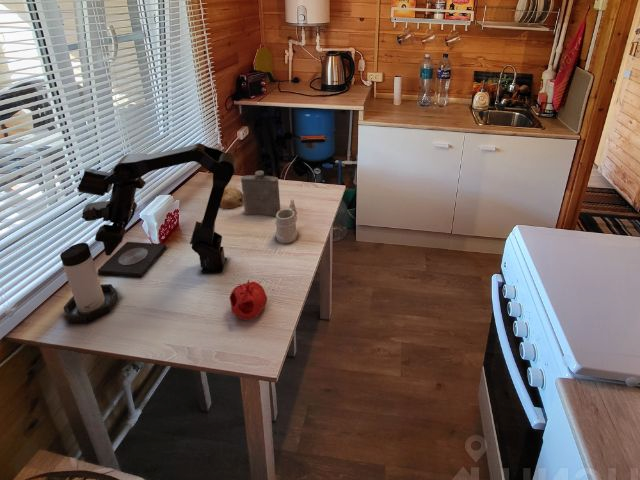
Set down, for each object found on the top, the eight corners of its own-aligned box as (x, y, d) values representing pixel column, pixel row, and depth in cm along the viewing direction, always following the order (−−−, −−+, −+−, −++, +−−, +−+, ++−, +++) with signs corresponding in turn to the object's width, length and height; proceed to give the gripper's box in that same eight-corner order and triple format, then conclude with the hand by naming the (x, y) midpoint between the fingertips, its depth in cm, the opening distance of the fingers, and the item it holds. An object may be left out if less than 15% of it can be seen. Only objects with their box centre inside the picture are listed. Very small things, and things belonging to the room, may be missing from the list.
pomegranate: (249, 291, 112) (246, 265, 109) (275, 304, 108) (272, 278, 104) (222, 314, 104) (218, 287, 101) (249, 330, 100) (245, 303, 96)
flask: (247, 209, 153) (242, 169, 146) (282, 211, 152) (279, 170, 145) (243, 214, 149) (239, 173, 143) (279, 216, 148) (276, 175, 142)
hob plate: (166, 247, 130) (165, 243, 130) (141, 277, 117) (140, 272, 117) (128, 245, 131) (126, 241, 131) (98, 274, 118) (97, 269, 118)
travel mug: (93, 317, 103) (74, 257, 96) (73, 313, 104) (52, 254, 97) (111, 300, 109) (95, 242, 101) (92, 296, 110) (74, 239, 103)
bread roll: (235, 217, 154) (241, 201, 151) (210, 207, 152) (217, 191, 150) (242, 203, 163) (248, 189, 160) (219, 194, 161) (225, 179, 159)
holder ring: (125, 290, 112) (123, 283, 111) (102, 323, 101) (100, 316, 100) (84, 291, 111) (82, 285, 111) (57, 324, 101) (54, 317, 100)
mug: (272, 241, 134) (269, 212, 129) (286, 222, 144) (284, 195, 140) (292, 245, 132) (290, 216, 127) (305, 226, 142) (304, 198, 138)
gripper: (99, 179, 112) (90, 225, 116) (76, 210, 96) (67, 263, 99) (141, 185, 117) (132, 229, 120) (126, 216, 100) (115, 266, 103)
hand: (112, 245), depth 110 cm, fingers open, 9 cm apart
